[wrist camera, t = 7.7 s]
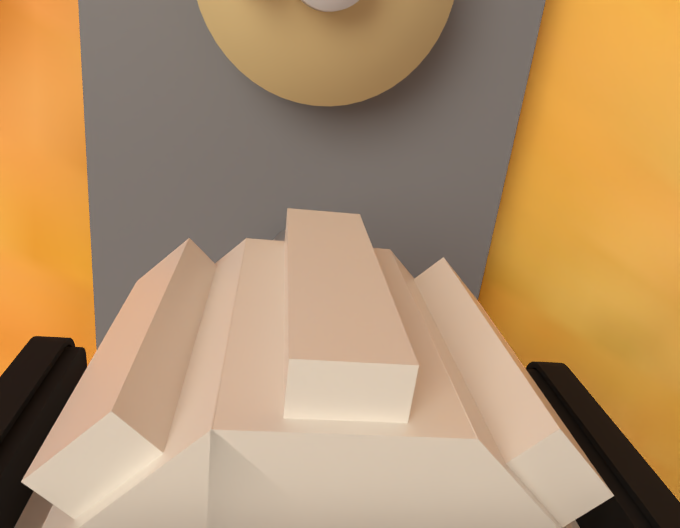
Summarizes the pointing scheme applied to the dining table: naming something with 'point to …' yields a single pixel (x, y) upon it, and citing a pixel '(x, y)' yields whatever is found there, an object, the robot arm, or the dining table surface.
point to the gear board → (297, 125)
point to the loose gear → (307, 401)
